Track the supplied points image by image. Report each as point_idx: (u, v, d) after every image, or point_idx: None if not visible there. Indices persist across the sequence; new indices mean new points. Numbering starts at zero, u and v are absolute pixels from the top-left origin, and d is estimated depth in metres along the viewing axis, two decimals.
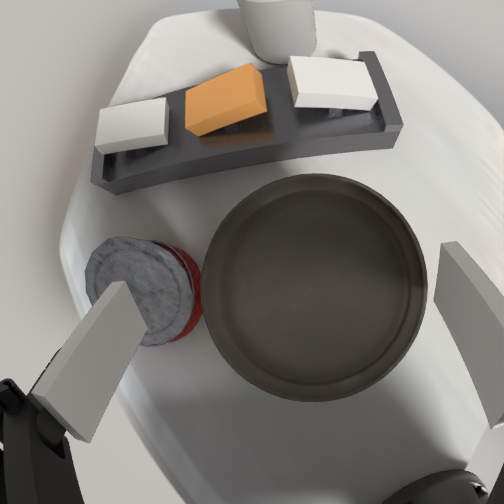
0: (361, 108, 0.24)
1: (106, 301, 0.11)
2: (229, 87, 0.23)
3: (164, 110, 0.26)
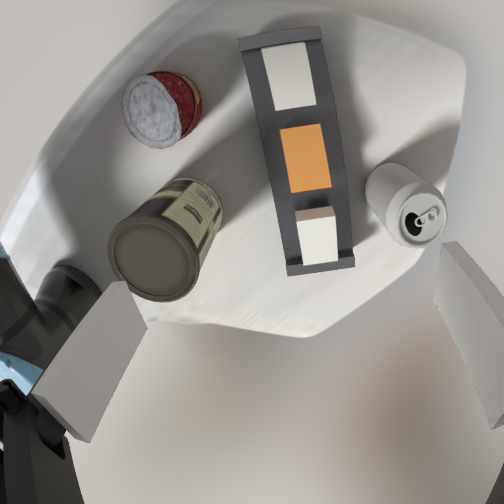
0: None
1: (106, 301, 0.11)
2: (309, 168, 0.31)
3: (301, 106, 0.29)
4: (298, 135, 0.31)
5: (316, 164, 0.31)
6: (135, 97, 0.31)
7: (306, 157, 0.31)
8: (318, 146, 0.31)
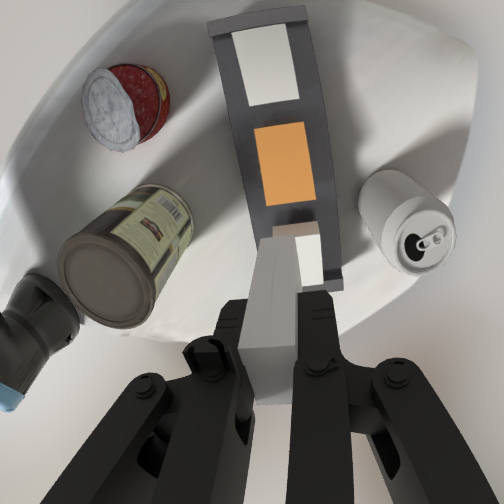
0: None
1: (272, 253, 0.12)
2: (289, 176, 0.26)
3: (280, 100, 0.24)
4: (276, 136, 0.25)
5: (297, 171, 0.26)
6: (93, 94, 0.26)
7: (285, 163, 0.26)
8: (300, 149, 0.25)
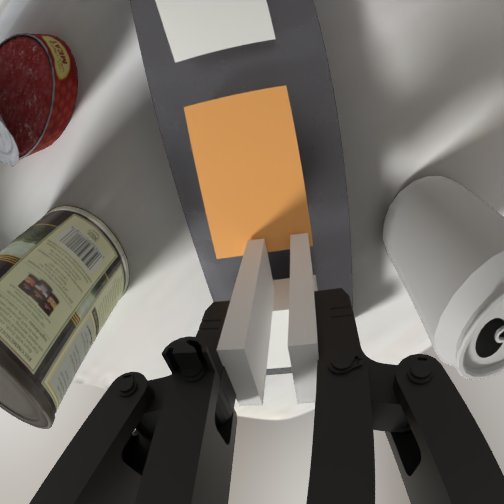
0: None
1: (257, 255, 0.12)
2: (259, 201, 0.13)
3: (237, 44, 0.11)
4: (229, 118, 0.12)
5: (276, 191, 0.13)
6: None
7: (250, 174, 0.13)
8: (281, 144, 0.12)
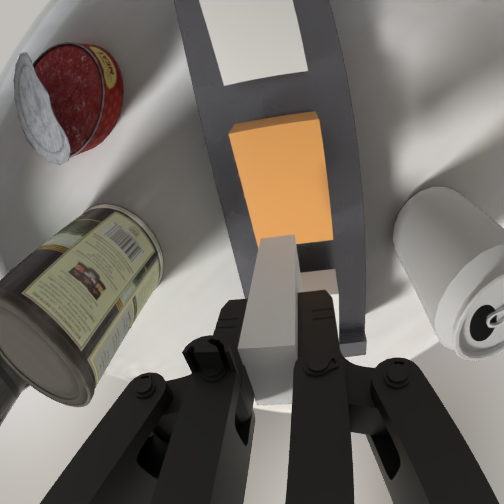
0: None
1: (272, 253, 0.12)
2: (293, 209, 0.16)
3: (276, 74, 0.14)
4: (270, 145, 0.14)
5: (307, 202, 0.16)
6: (22, 89, 0.16)
7: (287, 189, 0.16)
8: (313, 168, 0.15)
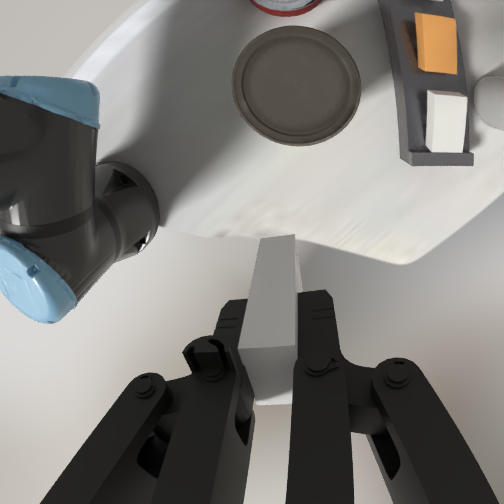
0: (426, 138, 0.30)
1: (272, 253, 0.12)
2: (442, 54, 0.23)
3: None
4: (437, 23, 0.20)
5: (448, 52, 0.22)
6: None
7: (441, 44, 0.22)
8: (452, 37, 0.21)
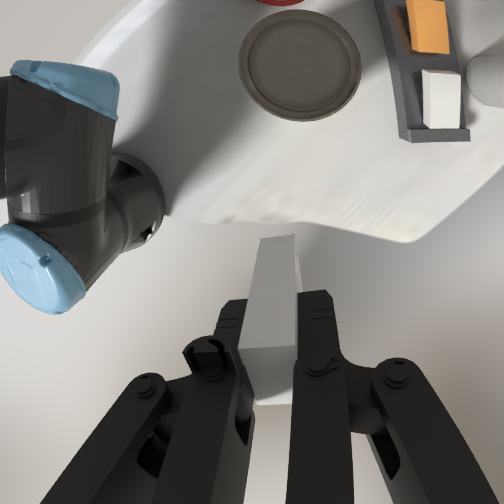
0: (423, 116, 0.30)
1: (272, 253, 0.12)
2: (434, 35, 0.23)
3: None
4: (427, 6, 0.21)
5: (439, 33, 0.23)
6: None
7: (432, 25, 0.22)
8: (442, 19, 0.21)
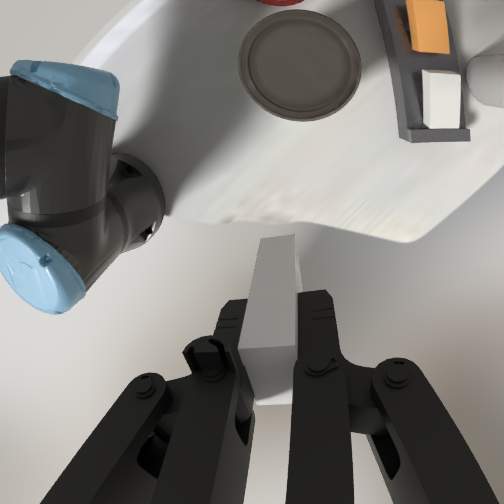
0: (423, 116, 0.30)
1: (272, 253, 0.12)
2: (434, 35, 0.23)
3: None
4: (427, 6, 0.21)
5: (439, 33, 0.23)
6: None
7: (432, 25, 0.22)
8: (442, 19, 0.21)
